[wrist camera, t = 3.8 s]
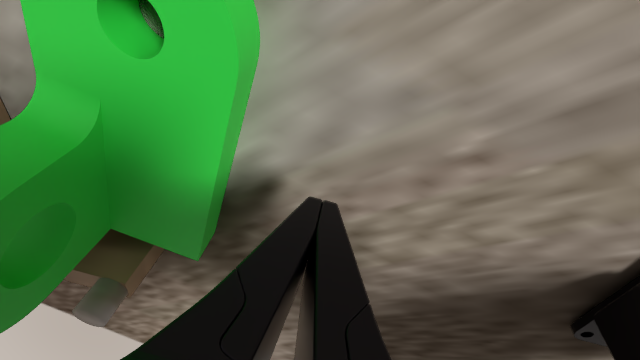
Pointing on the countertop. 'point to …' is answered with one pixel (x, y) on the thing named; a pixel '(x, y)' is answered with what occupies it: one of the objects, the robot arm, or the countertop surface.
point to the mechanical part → (120, 134)
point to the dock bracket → (108, 270)
